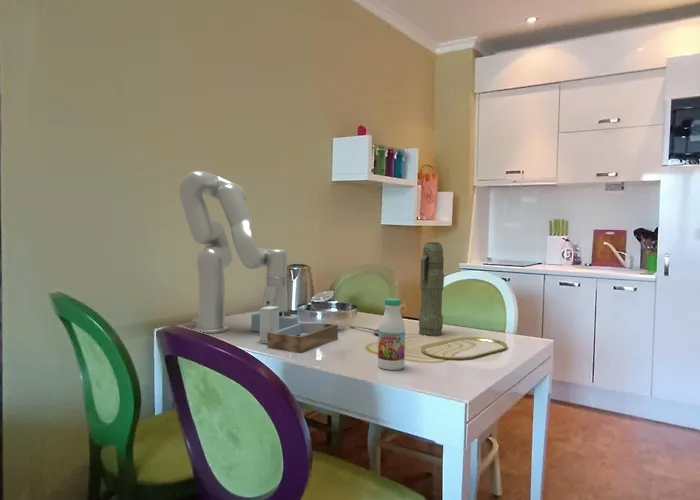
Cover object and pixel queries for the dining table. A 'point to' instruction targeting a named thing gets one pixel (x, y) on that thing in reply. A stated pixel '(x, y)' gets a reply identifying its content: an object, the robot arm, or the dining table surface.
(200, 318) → the robot arm
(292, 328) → the crook
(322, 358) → the dining table surface
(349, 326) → the soupspoon
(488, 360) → the dining table surface
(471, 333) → the dining table surface
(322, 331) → the wooden u-shaped tray
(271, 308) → the skincare box
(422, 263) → the thermos
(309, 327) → the grey plastic stick
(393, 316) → the milk bottle
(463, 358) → the serving platter
